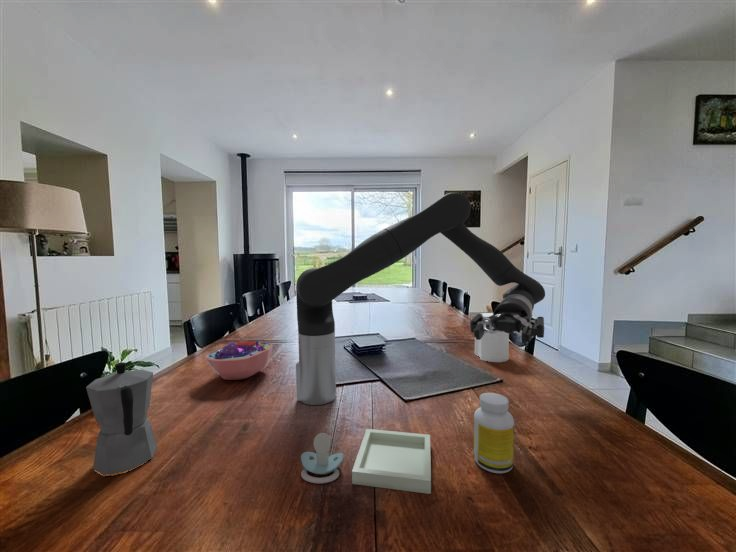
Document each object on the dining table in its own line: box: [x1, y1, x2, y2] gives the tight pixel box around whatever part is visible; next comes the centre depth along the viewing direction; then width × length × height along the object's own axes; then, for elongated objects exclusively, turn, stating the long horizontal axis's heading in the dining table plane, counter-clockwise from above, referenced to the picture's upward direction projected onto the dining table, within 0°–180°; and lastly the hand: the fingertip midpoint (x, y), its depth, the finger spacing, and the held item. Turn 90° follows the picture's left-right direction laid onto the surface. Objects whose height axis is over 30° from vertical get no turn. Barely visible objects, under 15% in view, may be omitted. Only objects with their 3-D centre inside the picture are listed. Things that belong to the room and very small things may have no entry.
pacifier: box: [300, 432, 345, 484], centre depth 53 cm, size 7×6×6 cm
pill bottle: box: [473, 392, 515, 474], centre depth 54 cm, size 6×6×12 cm
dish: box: [351, 428, 432, 495], centre depth 55 cm, size 12×12×2 cm
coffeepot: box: [85, 362, 158, 475], centre depth 55 cm, size 15×9×18 cm, turn 43°
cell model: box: [204, 340, 273, 381], centre depth 95 cm, size 17×20×11 cm
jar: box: [474, 312, 510, 363], centre depth 110 cm, size 12×10×15 cm
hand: (499, 337), depth 61 cm, fingers open, 8 cm apart
